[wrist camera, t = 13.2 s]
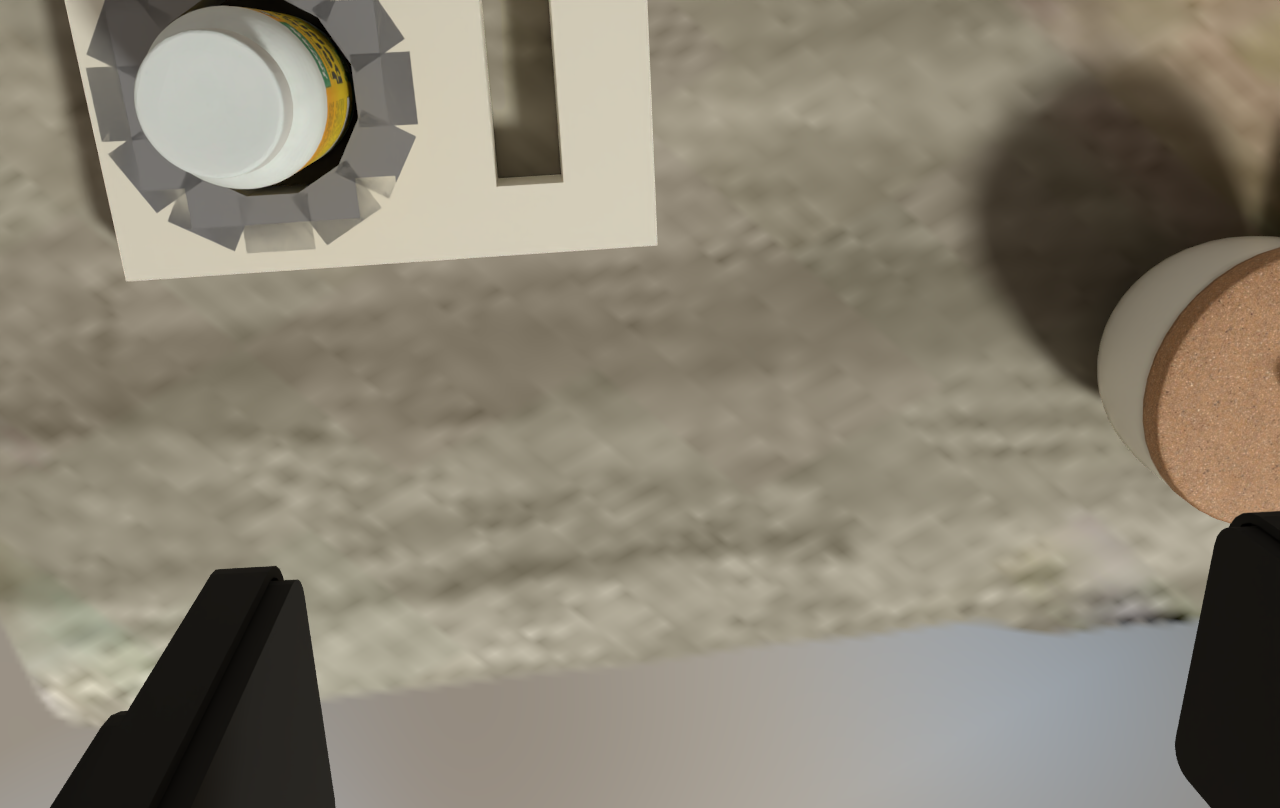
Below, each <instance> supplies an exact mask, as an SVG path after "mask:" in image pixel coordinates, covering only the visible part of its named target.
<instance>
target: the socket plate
mask: <svg viewBox="0 0 1280 808" xmlns="http://www.w3.org/2000/svg"><path fill="white" fill-rule="evenodd" d="M64 1H65V5H66V10H67V14H68V19H69V23H70V28H71V32H72V37H73V42H74V46H75V51H76V55H77V60H78V64H79V69H80V73H81V78H82V83H83V87H84V92H85V96H86V101H87V105H88V110H89V114H90V119H91V123H92V128H93V133H94V137H95V142H96V146H97V151H98V155H99V160H100V164H101V169H102V174H103V178H104V183H105V187H106V192H107V196H108V201H109V205H110V210H111V215H112V219H113V224H114V228H115V233H116V237H117V242H118V246H119V251H120V255H121V260H122V265H123V269H124V274H125V278H126V281H140V280H155V279H169V278H184V277H199V276H213V275H228V274H243V273H258V272H272V271H287V270H302V269H316V268H331V267H346V266H361V265H375V264H390V263H405V262H420V261H434V260H449V259H464V258H478V257H493V256H508V255H523V254H537V253H552V252H567V251H581V250H596V249H611V248H626V247H640V246H655V245H657V222H656V198H655V174H654V151H653V127H652V103H651V79H650V55H649V32H648V8H647V0H549V13H550V27H551V41H552V55H553V69H554V83H555V97H556V110H557V124H558V138H559V152H560V166H561V174H557V175H541V176H525V177H508V178H498V172H497V161H496V151H495V140H494V129H493V118H492V107H491V97H490V86H489V75H488V64H487V53H486V42H485V32H484V21H483V10H482V0H285V1H287V2H289V3H291V4H293V5H295V6H297V7H298V8H300V9H302V10H304V11H306V12H308V13H310V14H312V15H314V16H316V17H318V19H319V20H320V21H321V23H322V24H323V26H324V27H325V28H326V30H327V31H328V33H329V34H330V35H331V37H332V38H333V40H334V41H335V42H336V44H337V45H338V47H339V48H340V49H341V51H342V52H343V54H344V55H345V56H346V58H347V59H348V61H349V62H350V63H351V67H352V75H353V82H354V90H355V97H356V104H357V112H358V120H357V123H356V125H355V127H354V130H353V132H352V134H351V137H350V139H349V142H348V144H347V146H346V149H345V151H344V154H343V156H342V158H341V161H340V163H339V165H338V166H336V167H335V168H334V169H332V170H331V171H329V172H328V173H326V174H325V175H323V176H322V177H321V178H319V179H318V180H316V181H315V182H313V183H312V184H306V185H289V186H273V187H262V188H255V189H234V188H227V187H222V186H218V185H215V184H212V183H209V182H206V181H204V180H202V179H200V178H198V177H196V176H194V175H192V174H191V173H189V172H186V171H184V170H182V169H180V168H178V167H177V166H175V165H174V164H172V163H171V162H169V161H168V160H167V159H165V158H164V157H163V156H162V155H161V154H160V153H159V152H158V151H157V150H156V149H155V148H154V147H153V145H152V144H151V143H150V141H149V140H148V139H147V137H146V135H145V134H144V132H143V130H142V128H141V125H140V123H139V121H138V118H137V114H136V110H135V105H134V85H135V79H136V75H137V72H138V70H139V67H140V65H141V63H142V61H143V59H144V58H145V56H146V55H147V53H148V51H149V49H150V47H151V45H152V44H153V42H154V41H155V39H156V38H157V36H158V35H159V34H160V33H161V32H162V31H163V30H164V29H165V28H166V27H167V26H168V25H169V24H171V23H172V22H173V21H175V20H176V19H178V18H179V17H181V16H183V15H185V14H187V13H189V12H192V11H195V10H198V9H201V8H206V7H212V6H219V5H220V4H222V3H223V2H225V1H226V0H64Z"/></svg>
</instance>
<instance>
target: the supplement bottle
mask: <svg viewBox="0 0 1280 808" xmlns="http://www.w3.org/2000/svg"><path fill="white" fill-rule="evenodd" d="M134 105H135V110H136V114H137V118H138V121H139V123H140V125H141V128H142V130H143V132H144V134H145V135H146V137H147V139H148V140H149V141H150V143H151V144H152V145H153V147H154V148H155V149H156V150H157V151H158V152H159V153H160V154H161V155H162V156H163V157H164V158H165V159H167V160H168V161H169V162H171V163H172V164H174V165H175V166H177V167H178V168H180V169H182V170H184V171H186V172H189V173H191V174H192V175H194V176H196V177H198V178H200V179H202V180H204V181H206V182H209V183H212V184H215V185H218V186H222V187H227V188H234V189H255V188H262V187H266V186H270V185H273V184H276V183H279V182H281V181H283V180H285V179H287V178H289V177H290V176H292V175H294V174H295V173H297V172H298V171H300V170H301V169H303V168H305V167H306V166H308V165H310V164H311V163H313V162H315V161H316V160H318V159H319V158H321V157H323V156H324V155H326V154H328V153H329V152H330V151H331V150H332V149H333V148H334V147H335V146H336V145H337V144H338V143H339V142H340V141H341V139H342V138H343V137H344V135H345V133H346V132H347V130H348V128H349V126H350V123H351V121H352V118H353V113H354V105H355V92H354V85H353V79H352V75H351V72H350V69H349V66H348V64H347V62H346V59H345V57H344V55H343V54H342V52H341V51H340V49H339V48H338V46H337V45H336V44H335V43H334V42H333V41H332V40H331V39H330V38H329V37H328V36H327V35H326V34H325V33H324V32H323V31H321V30H320V29H318V28H317V27H316V26H314V25H313V24H311V23H309V22H307V21H305V20H303V19H301V18H298V17H295V16H292V15H289V14H285V13H279V12H273V11H264V10H258V9H252V8H246V7H236V6H212V7H206V8H201V9H198V10H195V11H192V12H189V13H187V14H185V15H183V16H181V17H179V18H178V19H176V20H175V21H173V22H172V23H171V24H169V25H168V26H167V27H166V28H165V29H164V30H163V31H162V32H161V33H160V34H159V35H158V36H157V38H156V39H155V41H154V42H153V44H152V45H151V47H150V49H149V51H148V53H147V55H146V56H145V58H144V59H143V61H142V63H141V65H140V67H139V70H138V72H137V75H136V79H135V85H134Z"/></svg>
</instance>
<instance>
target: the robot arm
mask: <svg viewBox="0 0 1280 808" xmlns="http://www.w3.org/2000/svg"><path fill="white" fill-rule="evenodd" d="M1175 750H1176V756H1177V760H1178V764H1179V766H1180V769H1181V771H1182V772H1183V774H1184V776H1185V777H1186V779H1187V780H1188V781H1189V782H1190V784H1191V785H1192V786H1193V787H1194V788H1195V789H1196V791H1197V792H1198V793H1199V794H1200V795H1201V797H1202V798H1203V799H1204V800H1205V801H1206V802H1207V804H1208V805H1209V806H1210V807H1211V808H1280V511H1270V512H1252V513H1242V514H1240V515H1238V516H1237V517H1235V519H1234V520H1233V521H1232V523H1231V524H1230V526H1229V528H1225V529H1223V530H1222V531H1221V532H1220V533H1219V535H1218V536H1217V539H1216V542H1215V545H1214V550H1213V555H1212V560H1211V565H1210V570H1209V575H1208V580H1207V585H1206V590H1205V595H1204V600H1203V605H1202V610H1201V615H1200V620H1199V625H1198V630H1197V634H1196V639H1195V644H1194V649H1193V654H1192V660H1191V665H1190V670H1189V674H1188V679H1187V685H1186V689H1185V694H1184V699H1183V705H1182V710H1181V714H1180V719H1179V724H1178V729H1177V734H1176V741H1175ZM50 808H335V798H334V791H333V785H332V778H331V771H330V764H329V758H328V751H327V745H326V738H325V731H324V724H323V717H322V710H321V704H320V697H319V690H318V683H317V677H316V670H315V663H314V657H313V650H312V643H311V636H310V630H309V623H308V616H307V609H306V603H305V596H304V591H303V587H302V585H301V582H300V581H299V580H284V579H283V576H282V574H281V571H280V569H279V568H278V567H277V566H269V567H251V568H232V569H218V570H215V571H214V572H213V573H212V574H211V575H210V577H209V579H208V580H207V582H206V584H205V585H204V587H203V589H202V590H201V592H200V593H199V595H198V597H197V598H196V600H195V602H194V603H193V605H192V606H191V608H190V610H189V611H188V613H187V615H186V616H185V618H184V620H183V621H182V623H181V624H180V626H179V628H178V629H177V631H176V633H175V634H174V636H173V638H172V639H171V641H170V642H169V644H168V646H167V647H166V649H165V651H164V652H163V654H162V656H161V657H160V659H159V660H158V662H157V664H156V665H155V667H154V669H153V670H152V672H151V673H150V675H149V677H148V678H147V680H146V682H145V683H144V685H143V687H142V688H141V690H140V691H139V693H138V695H137V696H136V698H135V700H134V701H133V703H132V705H131V706H130V708H129V709H128V711H121V712H118V713H116V714H113V715H111V716H110V717H109V718H108V720H107V721H106V722H105V723H104V724H103V725H102V727H101V728H100V730H99V732H98V733H97V734H96V736H95V738H94V740H93V741H92V742H91V744H90V746H89V747H88V749H87V750H86V752H85V753H84V755H83V757H82V758H81V760H80V761H79V763H78V764H77V766H76V768H75V769H74V771H73V772H72V774H71V775H70V777H69V779H68V780H67V782H66V783H65V785H64V786H63V788H62V790H61V791H60V793H59V794H58V796H57V797H56V799H55V801H54V802H53V804H52V805H51V807H50Z"/></svg>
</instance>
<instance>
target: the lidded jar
mask: <svg viewBox="0 0 1280 808" xmlns="http://www.w3.org/2000/svg"><path fill="white" fill-rule="evenodd" d="M1097 381H1098V387H1099V394H1100V397H1101V400H1102V403H1103V406H1104V409H1105V412H1106V414H1107V417H1108V420H1109V421H1110V423H1111V425H1112V427H1113V428H1114V430H1115V432H1116V433H1117V435H1118V436H1119V438H1120V439H1121V440H1122V442H1123V443H1124V444H1125V446H1126V447H1127V448H1128V449H1129V450H1130V451H1131V453H1132V454H1133V455H1134V456H1135V457H1136V458H1137V459H1138V460H1139V461H1140V462H1141V463H1142V464H1143V465H1144V466H1145V467H1146V468H1147V469H1148V470H1150V471H1151V472H1152V473H1154V474H1155V475H1156V476H1157V477H1159V478H1160V479H1161V480H1162V481H1164V482H1165V483H1166V484H1168V485H1169V486H1170V488H1171V489H1172V490H1173V491H1174V492H1175V493H1177V494H1178V495H1179V496H1181V497H1182V498H1183V499H1184V500H1186V501H1187V502H1188V503H1189V504H1191V505H1192V506H1194V507H1195V508H1197V509H1198V510H1200V511H1202V512H1204V513H1206V514H1208V515H1210V516H1211V517H1213V518H1215V519H1218V520H1222V521H1225V522H1228V523H1232V521H1233V520H1234V519H1235V517H1237V516H1238V515H1240V514H1242V513H1252V512H1270V511H1280V237H1273V236H1242V237H1230V238H1224V239H1218V240H1212V241H1209V242H1206V243H1203V244H1200V245H1197V246H1194V247H1191V248H1188V249H1184V250H1182V251H1180V252H1178V253H1176V254H1174V255H1172V256H1170V257H1168V258H1166V259H1165V260H1163V261H1162V262H1160V263H1159V264H1157V265H1156V266H1154V267H1153V268H1151V269H1150V270H1149V271H1147V272H1146V273H1145V274H1144V275H1143V276H1142V277H1140V278H1139V279H1138V280H1137V281H1136V282H1135V283H1134V284H1133V285H1132V286H1131V287H1130V288H1129V289H1128V291H1127V292H1126V293H1125V294H1124V295H1123V296H1122V298H1121V299H1120V301H1119V302H1118V304H1117V305H1116V307H1115V308H1114V310H1113V312H1112V314H1111V316H1110V318H1109V320H1108V322H1107V324H1106V326H1105V329H1104V332H1103V335H1102V338H1101V341H1100V347H1099V353H1098V360H1097Z"/></svg>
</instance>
